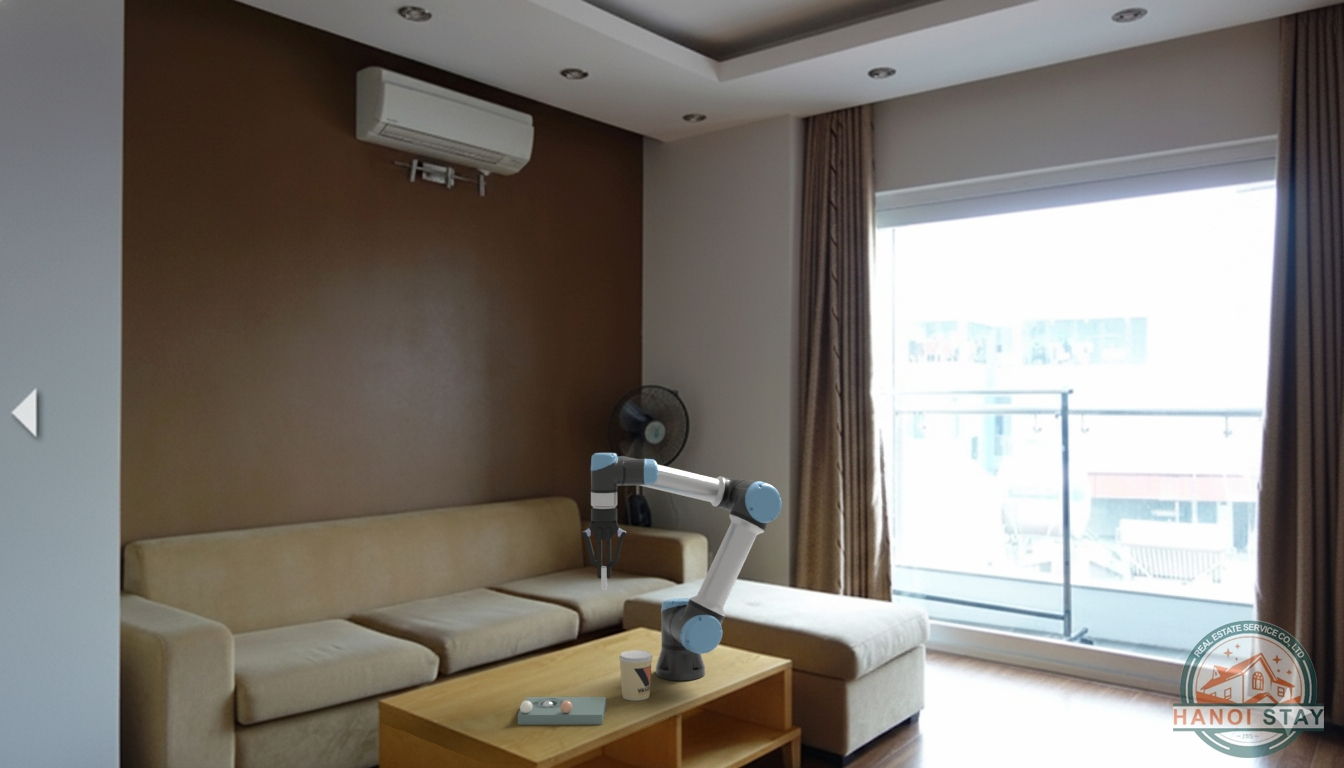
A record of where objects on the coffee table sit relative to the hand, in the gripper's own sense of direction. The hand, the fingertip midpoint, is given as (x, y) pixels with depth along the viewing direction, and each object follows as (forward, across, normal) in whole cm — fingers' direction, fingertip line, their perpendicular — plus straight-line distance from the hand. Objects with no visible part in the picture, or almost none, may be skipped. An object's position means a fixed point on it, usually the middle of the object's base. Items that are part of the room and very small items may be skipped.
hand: (604, 589), depth 273 cm
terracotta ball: (+26, +8, +22) cm, 35 cm away
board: (+30, +10, +16) cm, 36 cm away
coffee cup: (+31, -9, 0) cm, 32 cm away
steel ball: (+29, +14, +14) cm, 35 cm away
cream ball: (+26, +19, +22) cm, 39 cm away
